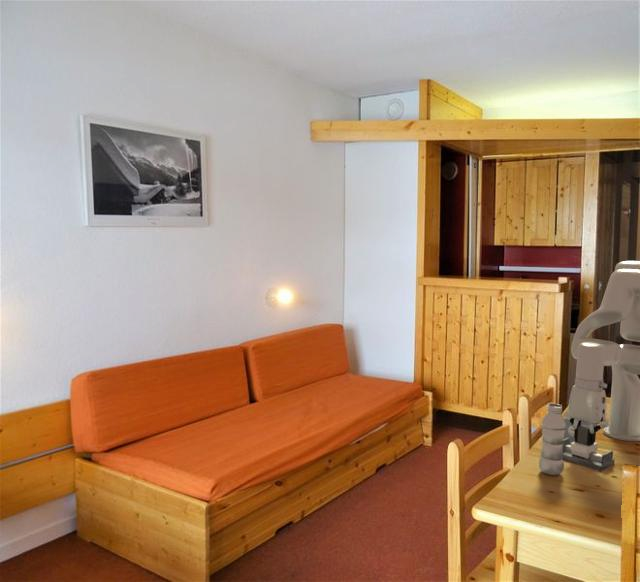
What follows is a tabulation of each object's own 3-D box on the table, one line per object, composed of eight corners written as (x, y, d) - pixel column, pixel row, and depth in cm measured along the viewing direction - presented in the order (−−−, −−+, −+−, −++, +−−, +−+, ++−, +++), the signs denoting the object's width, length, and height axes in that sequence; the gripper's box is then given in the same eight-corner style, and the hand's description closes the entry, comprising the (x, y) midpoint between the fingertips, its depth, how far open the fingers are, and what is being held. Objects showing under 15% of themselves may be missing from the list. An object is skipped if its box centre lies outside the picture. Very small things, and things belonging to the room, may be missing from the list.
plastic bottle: (565, 479, 168) (570, 409, 166) (539, 476, 169) (544, 407, 167) (560, 470, 174) (565, 403, 172) (536, 467, 175) (540, 401, 173)
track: (569, 450, 190) (570, 436, 190) (614, 464, 180) (615, 449, 179) (555, 456, 185) (556, 442, 184) (600, 471, 174) (601, 456, 174)
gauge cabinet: (573, 437, 203) (574, 414, 202) (593, 443, 198) (595, 419, 197) (561, 441, 198) (563, 418, 197) (582, 448, 193) (584, 423, 192)
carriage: (581, 449, 187) (582, 422, 186) (597, 454, 183) (599, 427, 182) (569, 454, 182) (571, 427, 181) (585, 459, 178) (588, 431, 177)
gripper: (622, 387, 176) (617, 448, 178) (568, 376, 189) (564, 433, 191) (610, 391, 172) (605, 453, 173) (556, 380, 184) (552, 438, 186)
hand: (584, 442), depth 182 cm, fingers closed on carriage, 3 cm apart
